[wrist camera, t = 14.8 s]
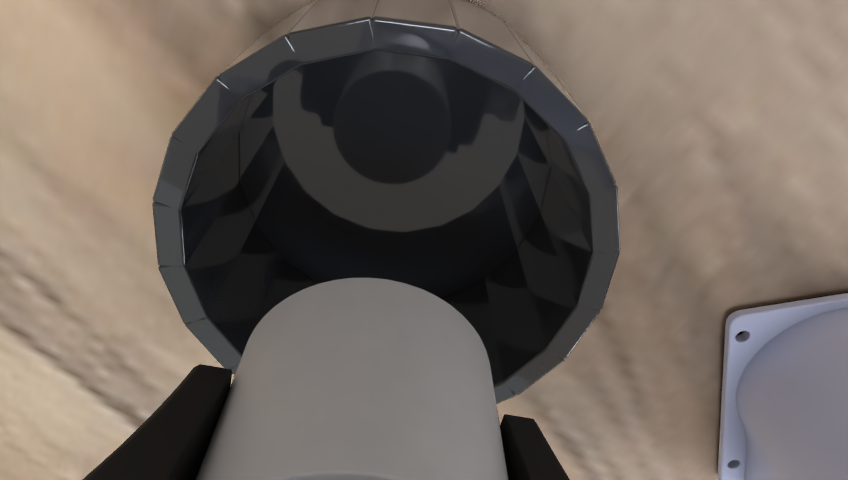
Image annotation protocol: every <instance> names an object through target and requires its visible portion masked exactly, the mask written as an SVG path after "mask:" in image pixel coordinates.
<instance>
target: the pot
mask: <svg viewBox="0 0 848 480" xmlns="http://www.w3.org/2000/svg"><path fill="white" fill-rule="evenodd" d="M153 201H154V202H153V215H154V226H155V237H156V248H157V258H158V265H159V271H160V273H161V275H162V277H163V279H164V281H165V284H166V286H167V288H168V290H169V292H170V294H171V296H172V299H173V301H174V303H175V305H176V307H177V309H178V311H179V314H180V316H181V318H182V320H183V322H184V324H185V325H186V327H187V328H188V329H189V330H190V331H191V332H192V333H193V334H194V335H195V337H196V338H197V339H198V340H199V341H200V342H201V343H202V344H203V345H204V346H205V347H206V349H207V350H208V351H209V352H210V353H211V354H212V355H213V356H214V357H215V358H216V360H217V361H218V362H219V363H220V364H221V365H222V366H223V367H224V368H225V369H231V370H232V374H234V375H235V374H236V371H237V368H238V366H239V363H240V360H241V358H242V355H243V353H244V350H245V347H246V345H247V342H248V339H249V338H250V336H251V334H252V332H253V330H254V329H255V327H256V326H257V324H258V323H259V322H260V321H261V319H262V318H263V317H264V316H265V315H266V314H267V313H268V312H269V311H270V310H271V309H272V308H273V307H275V306H276V305H277V304H279V303H280V302H282V301H283V300H285V299H286V298H287V297H289V296H291V295H293V294H295V293H297V292H299V291H301V290H303V289H306V288H308V287H311V286H314V285H317V284H320V283H324V282H328V281H332V280H338V279H347V278H378V279H387V280H392V281H397V282H401V283H406V284H409V285H412V286H415V287H417V288H420V289H423V290H425V291H427V292H429V293H431V294H433V295H435V296H437V297H439V298H440V299H442V300H444V301H445V302H447V303H448V304H450V305H451V306H452V307H453V308H455V309H456V310H457V311H458V312H459V313H461V314H462V315H463V316H464V317H465V318H466V319H467V321H468V322H469V323H470V324H471V325H472V326H473V327H474V329H475V330H476V332H477V333H478V335H479V337H480V338H481V340H482V342H483V344H484V347H485V349H486V351H487V355H488V358H489V362H490V368H491V374H492V380H493V386H494V393H495V399H496V404H498V403H500V402H503V401H505V400H508V399H510V398H512V397H515V396H516V395H519V394H520V393H522V392H523V391H524V390H526V389H527V388H528V387H530V386H531V385H532V384H533V383H535V382H536V381H537V380H539V379H540V378H541V377H543V376H544V375H545V374H547V373H548V372H549V371H551V370H552V369H553V368H555V367H556V366H557V365H559V364H560V363H561V362H563V361H564V358H567V356H568V355H569V354H570V352H571V351H572V349H573V348H574V347H575V345H576V344H577V343H578V341H579V340H580V339H581V337H582V336H583V334H584V333H585V332H586V330H587V329H588V328H589V326H590V325H591V324H592V322H593V321H594V319H595V318H596V317H597V315H598V314H599V313H600V310H601V309H602V306H603V303H604V300H605V297H606V294H607V291H608V288H609V284H610V281H611V278H612V275H613V272H614V269H615V266H616V262H617V259H618V256H619V253H620V252H619V251H620V232H619V210H618V188H617V186H616V181H615V179H614V176H613V174H612V172H611V170H610V167H609V165H608V163H607V160H606V158H605V156H604V154H603V151H602V149H601V147H600V144H599V142H598V140H597V138H596V135H595V133H594V131H593V128H592V126H591V124H590V122H589V121H588V119H587V117H586V116H585V115H584V113H583V112H582V111H581V109H580V108H579V107H578V106H577V104H576V103H575V102H574V100H573V99H572V98H571V97H570V95H569V94H568V93H567V91H566V90H565V89H564V88H563V86H562V85H561V84H560V82H559V81H558V80H557V79H556V77H555V76H554V75H553V73H552V72H551V71H550V70H549V68H548V67H547V66H546V64H545V63H544V62H543V61H542V60H541V59H540V58H539V57H538V56H537V55H536V54H535V53H534V51H533V50H532V49H531V48H530V47H529V46H528V45H527V44H526V43H525V42H524V41H523V40H522V39H521V38H520V36H519V35H518V34H516V33H515V32H514V31H513V30H512V29H511V28H510V27H509V26H508V24H507V23H506V22H505V21H502V20H501V19H500V18H498V17H496V16H494V15H492V14H491V13H489V12H487V11H486V10H484V9H483V8H481V7H480V6H478V5H475V4H473V3H471V2H469V1H467V0H315V1H313V2H312V3H310V4H307V5H306V6H304V7H302V8H301V9H299V10H298V11H296V12H294V13H293V14H291V15H290V16H288V17H287V18H285V19H284V20H282V21H281V22H279V23H277V24H276V25H274V26H272V27H271V28H270V29H269V30H267V31H266V32H265V33H264V34H263V35H262V36H261V37H260V38H258V39H257V40H256V41H255V42H254V43H253V44H252V45H251V46H250V47H248V48H247V49H246V50H245V51H244V52H243V53H242V54H241V55H240V56H238V57H237V58H236V59H235V60H234V61H233V62H232V63H231V64H230V65H228V66H227V67H226V68H225V69H224V70H223V71H222V72H221V73H220V74H218V75H217V76H216V77H215V78H214V80H213V81H212V82H211V83H210V85H209V86H208V87H207V89H206V90H205V91H204V93H203V94H202V95H201V96H200V98H199V99H198V100H197V102H196V103H195V104H194V105H193V107H192V108H191V109H190V111H189V112H188V113H187V114H186V116H185V117H184V118H183V120H182V121H181V122H180V123H179V125H178V126H177V127H176V129H175V130H174V131H173V133H172V136H171V137H170V140H169V144H168V147H167V151H166V154H165V157H164V161H163V164H162V168H161V171H160V175H159V178H158V182H157V185H156V189H155V192H154V196H153Z"/></svg>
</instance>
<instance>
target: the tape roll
mask: <svg viewBox="0 0 848 480" xmlns="http://www.w3.org/2000/svg"><path fill="white" fill-rule="evenodd" d="M196 480H508V474H507V467H506V461H505V455H504V449H503V442H502V436H501V430H500V424H499V417H498V411H497V405H496V399H495V393H494V386H493V380H492V374H491V368H490V362H489V358H488V355H487V351H486V349H485V347H484V344H483V342H482V340H481V338H480V337H479V335H478V333H477V332H476V330H475V329H474V327H473V326H472V325H471V324H470V323H469V322H468V321H467V319H466V318H465V317H464V316H463V315H462V314H461V313H459V312H458V311H457V310H456V309H455V308H453V307H452V306H451V305H450V304H448V303H447V302H445V301H444V300H442V299H440V298H439V297H437V296H435V295H433V294H431V293H429V292H427V291H425V290H423V289H420V288H417V287H415V286H412V285H409V284H406V283H401V282H397V281H392V280H387V279H378V278H347V279H338V280H332V281H328V282H324V283H320V284H317V285H314V286H311V287H308V288H306V289H303V290H301V291H299V292H297V293H295V294H293V295H291V296H289V297H287V298H286V299H285V300H283V301H282V302H280V303H279V304H277V305H276V306H275V307H273V308H272V309H271V310H270V311H269V312H268V313H267V314H266V315H265V316H264V317H263V318H262V319H261V321H260V322H259V323H258V324H257V326H256V327H255V329H254V330H253V332H252V334H251V336H250V338H249V339H248V342H247V345H246V347H245V350H244V353H243V355H242V358H241V360H240V363H239V366H238V368H237V371H236V374H235V376H234V379H233V382H232V384H231V387H230V390H229V392H228V395H227V398H226V400H225V403H224V406H223V408H222V411H221V414H220V416H219V419H218V422H217V424H216V427H215V430H214V432H213V435H212V438H211V440H210V443H209V446H208V448H207V451H206V454H205V456H204V459H203V461H202V464H201V467H200V469H199V472H198V475H197V477H196Z"/></svg>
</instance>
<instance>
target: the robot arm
mask: <svg viewBox="0 0 848 480" xmlns="http://www.w3.org/2000/svg"><path fill="white" fill-rule="evenodd" d="M742 331H744V332H743V333H742V334H741V335H738V336H736V335H737V334H738V333H739V332H742ZM231 376H232V370H231V369H225V368H219V367H213V366H207V365H201V364H200V365H198V366H196V367H194V368H193V369H192V370H191V372H190V373H189V374H188V375H187V377H186V378H185V379H184V380H183V381H182V382H181V384H180V385H179V386H178V387H177V388H176V389H175V390H174V392H173V393H172V394H171V395H170V396H169V397H168V398H167V399H166V400H165V401H164V403H163V404H162V405H161V406H160V407H159V408H158V409H157V410H156V411H155V412H154V413H153V414H152V415H151V416H150V417H149V418H148V419H147V420H146V421H145V422H144V423H143V424H142V425H141V426H140V427H139V428H138V429H137V430H136V431H135V432H134V433H133V434H132V435H131V436H130V437H129V438H128V439H127V440H126V441H125V442H124V443H123V444H122V445H121V446H120V447H119V448H117V449H116V450H115V451H114V452H113V453H112V454H111V455H110V456H109V457H107V458H106V459H105V460H104V461H103V462H102V463H101V464H100V465H98V466H97V467H96V468H95V469H94V470H93V471H92V472H91V473H89V474H88V475H87V476H86V477H85V478H84V479H83V480H196V477H197V475H198V472H199V469H200V467H201V464H202V461H203V459H204V456H205V454H206V451H207V448H208V446H209V443H210V440H211V438H212V435H213V432H214V430H215V427H216V424H217V422H218V419H219V416H220V414H221V411H222V408H223V406H224V403H225V400H226V398H227V395H228V392H229V390H230V385H231ZM500 430H501V436H502V442H503V449H504V455H505V461H506V467H507V474H508V480H570V479H569V478H568V476H567V474H566V473H565V471H564V469H563V468H562V466H561V464H560V463H559V461H558V459H557V458H556V456H555V454H554V453H553V451H552V449H551V447H550V446H549V444H548V442H547V441H546V439H545V437H544V436H543V434H542V432H541V430H540V429H539V427H538V425H537V424H536V422H535V421H534V419H530V418H524V417H518V416H512V415H506V414H504V417H503V419H502V422H501V425H500ZM718 478H719V480H848V293H844V294H838V295H831V296H825V297H819V298H813V299H806V300H800V301H794V302H787V303H781V304H775V305H768V306H762V307H756V308H749V309H743V310H738V311H735V312H733V313H732V314H730V315H729V316H728V318H727V320H726V325H725V344H724V364H723V383H722V402H721V421H720V441H719V460H718Z"/></svg>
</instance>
